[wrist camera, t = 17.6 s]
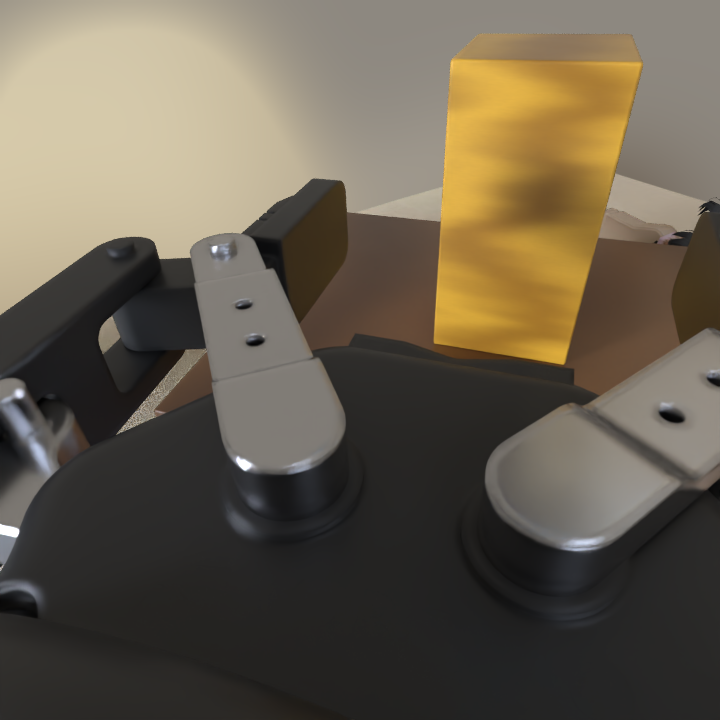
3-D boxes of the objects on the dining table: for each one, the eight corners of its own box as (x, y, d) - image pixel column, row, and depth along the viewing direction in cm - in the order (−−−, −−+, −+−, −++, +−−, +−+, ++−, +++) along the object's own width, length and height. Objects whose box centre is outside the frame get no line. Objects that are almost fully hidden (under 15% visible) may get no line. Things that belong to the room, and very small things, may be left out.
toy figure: (563, 261, 44) (769, 331, 34) (581, 183, 41) (815, 236, 31) (607, 244, 48) (802, 302, 38) (627, 172, 45) (847, 216, 35)
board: (164, 439, 20) (152, 409, 19) (335, 233, 33) (333, 210, 32) (887, 619, 14) (924, 589, 13) (740, 279, 27) (753, 252, 26)
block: (432, 344, 21) (450, 58, 15) (456, 282, 25) (477, 33, 19) (565, 366, 20) (644, 62, 14) (568, 297, 23) (633, 33, 17)
